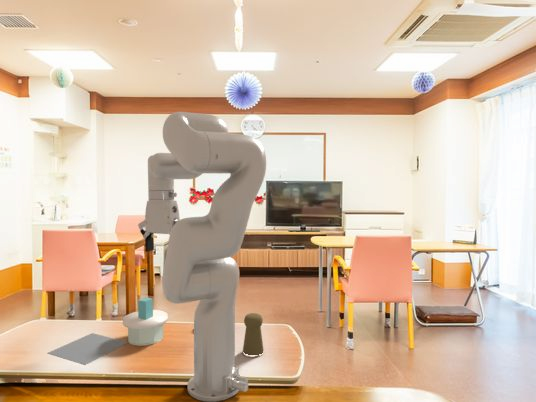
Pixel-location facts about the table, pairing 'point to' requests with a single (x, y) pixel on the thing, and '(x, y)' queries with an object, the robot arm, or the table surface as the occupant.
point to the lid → (145, 316)
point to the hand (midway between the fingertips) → (162, 252)
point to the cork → (253, 334)
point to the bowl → (145, 336)
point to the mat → (88, 348)
